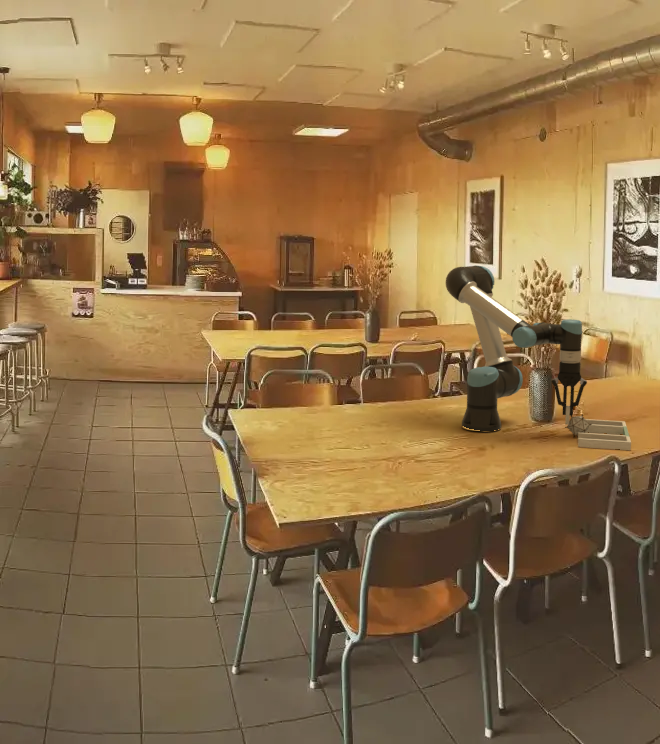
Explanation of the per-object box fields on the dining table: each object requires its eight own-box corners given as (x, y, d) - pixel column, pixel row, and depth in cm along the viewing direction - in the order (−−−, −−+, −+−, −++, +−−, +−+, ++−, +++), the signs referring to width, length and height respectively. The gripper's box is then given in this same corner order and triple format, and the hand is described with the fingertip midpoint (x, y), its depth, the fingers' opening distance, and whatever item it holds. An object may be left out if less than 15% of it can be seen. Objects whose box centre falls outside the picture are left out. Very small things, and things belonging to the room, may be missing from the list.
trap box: (578, 446, 292) (578, 438, 291) (576, 426, 322) (577, 418, 322) (630, 450, 287) (631, 442, 287) (624, 428, 317) (625, 421, 317)
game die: (581, 446, 306) (592, 429, 299) (560, 437, 307) (569, 420, 300) (586, 430, 312) (596, 413, 305) (565, 421, 313) (574, 404, 306)
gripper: (551, 362, 301) (549, 424, 305) (588, 363, 298) (585, 426, 302) (552, 359, 308) (549, 420, 312) (588, 360, 305) (585, 422, 309)
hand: (567, 423), depth 307 cm, fingers closed
